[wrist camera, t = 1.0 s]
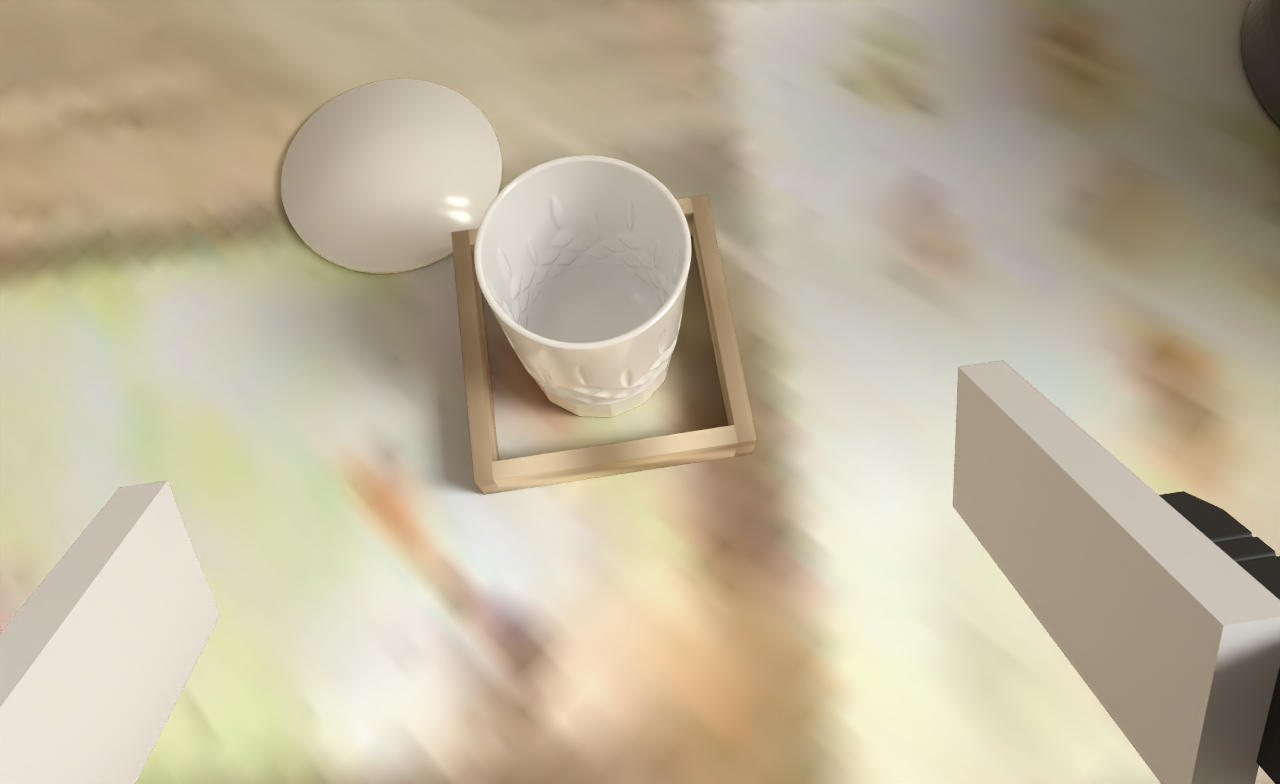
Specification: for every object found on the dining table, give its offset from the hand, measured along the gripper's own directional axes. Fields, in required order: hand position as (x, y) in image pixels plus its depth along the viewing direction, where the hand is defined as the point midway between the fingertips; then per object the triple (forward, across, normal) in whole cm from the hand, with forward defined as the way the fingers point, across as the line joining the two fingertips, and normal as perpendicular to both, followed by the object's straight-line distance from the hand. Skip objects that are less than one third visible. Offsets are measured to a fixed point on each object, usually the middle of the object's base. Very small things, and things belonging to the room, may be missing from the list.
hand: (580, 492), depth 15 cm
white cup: (+26, +1, -8) cm, 28 cm away
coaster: (+34, -8, -1) cm, 35 cm away
